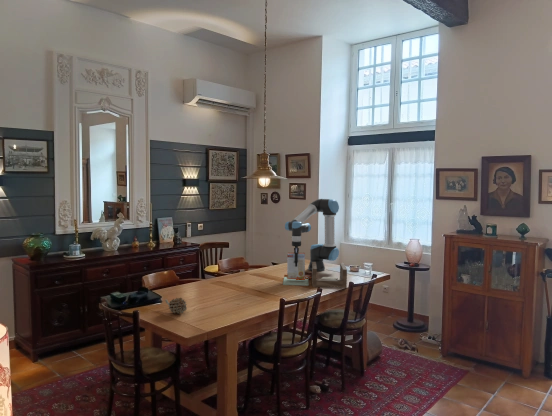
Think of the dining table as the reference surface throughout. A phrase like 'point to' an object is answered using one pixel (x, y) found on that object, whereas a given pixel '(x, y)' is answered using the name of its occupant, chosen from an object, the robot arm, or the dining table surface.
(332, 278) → the upper offcut
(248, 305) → the dining table surface
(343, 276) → the walnut rack
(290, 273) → the cracker box
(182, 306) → the pine cone
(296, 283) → the sage mat
